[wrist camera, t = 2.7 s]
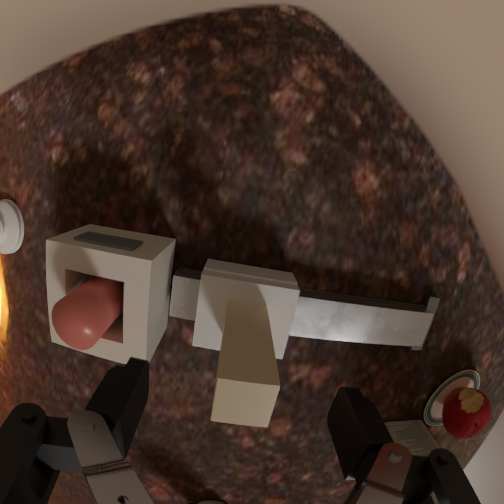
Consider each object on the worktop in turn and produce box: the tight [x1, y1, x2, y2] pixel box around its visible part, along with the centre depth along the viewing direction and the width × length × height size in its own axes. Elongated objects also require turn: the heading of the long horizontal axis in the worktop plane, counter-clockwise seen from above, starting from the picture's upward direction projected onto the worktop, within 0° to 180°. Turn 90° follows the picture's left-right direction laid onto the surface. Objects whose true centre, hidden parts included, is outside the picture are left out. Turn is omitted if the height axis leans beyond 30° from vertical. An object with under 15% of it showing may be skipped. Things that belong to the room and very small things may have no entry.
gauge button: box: [51, 276, 124, 350], centre depth 16 cm, size 3×3×5 cm
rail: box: [169, 267, 441, 350], centre depth 22 cm, size 21×5×2 cm, turn 80°
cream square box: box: [46, 224, 176, 364], centre depth 19 cm, size 7×7×6 cm
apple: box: [424, 370, 491, 439], centre depth 23 cm, size 8×8×6 cm
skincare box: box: [384, 420, 440, 504], centre depth 21 cm, size 6×4×12 cm
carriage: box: [192, 259, 300, 427], centre depth 17 cm, size 6×5×11 cm
